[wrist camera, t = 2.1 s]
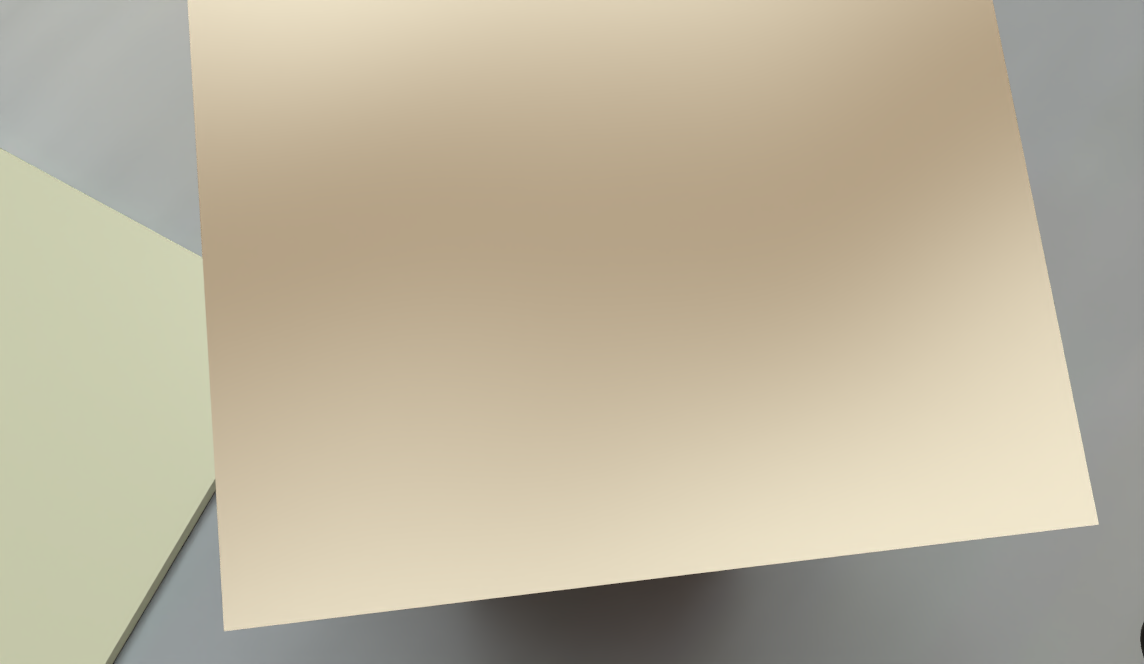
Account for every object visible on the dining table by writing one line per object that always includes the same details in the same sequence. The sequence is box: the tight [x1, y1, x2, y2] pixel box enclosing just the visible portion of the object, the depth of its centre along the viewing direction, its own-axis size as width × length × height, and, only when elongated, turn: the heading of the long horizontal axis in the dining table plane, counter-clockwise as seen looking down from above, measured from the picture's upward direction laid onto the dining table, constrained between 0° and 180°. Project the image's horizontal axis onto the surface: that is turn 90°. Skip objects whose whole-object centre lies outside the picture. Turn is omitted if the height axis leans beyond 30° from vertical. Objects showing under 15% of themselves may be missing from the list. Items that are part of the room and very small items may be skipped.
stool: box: [188, 0, 1099, 631], centre depth 14 cm, size 5×6×13 cm
